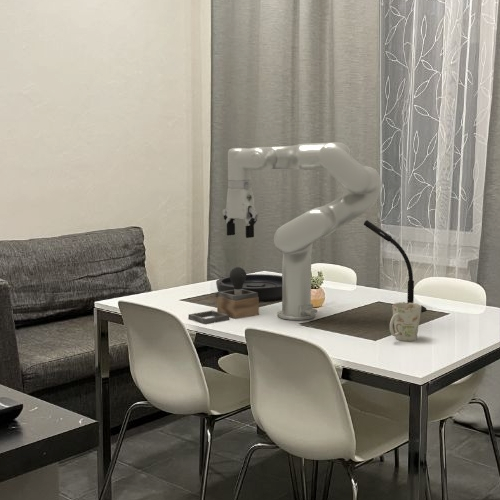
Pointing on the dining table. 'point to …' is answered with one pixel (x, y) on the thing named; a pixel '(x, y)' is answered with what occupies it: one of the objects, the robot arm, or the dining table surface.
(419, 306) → the mug
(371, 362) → the dining table surface
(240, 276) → the light bulb
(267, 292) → the round tray
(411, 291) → the microphone
